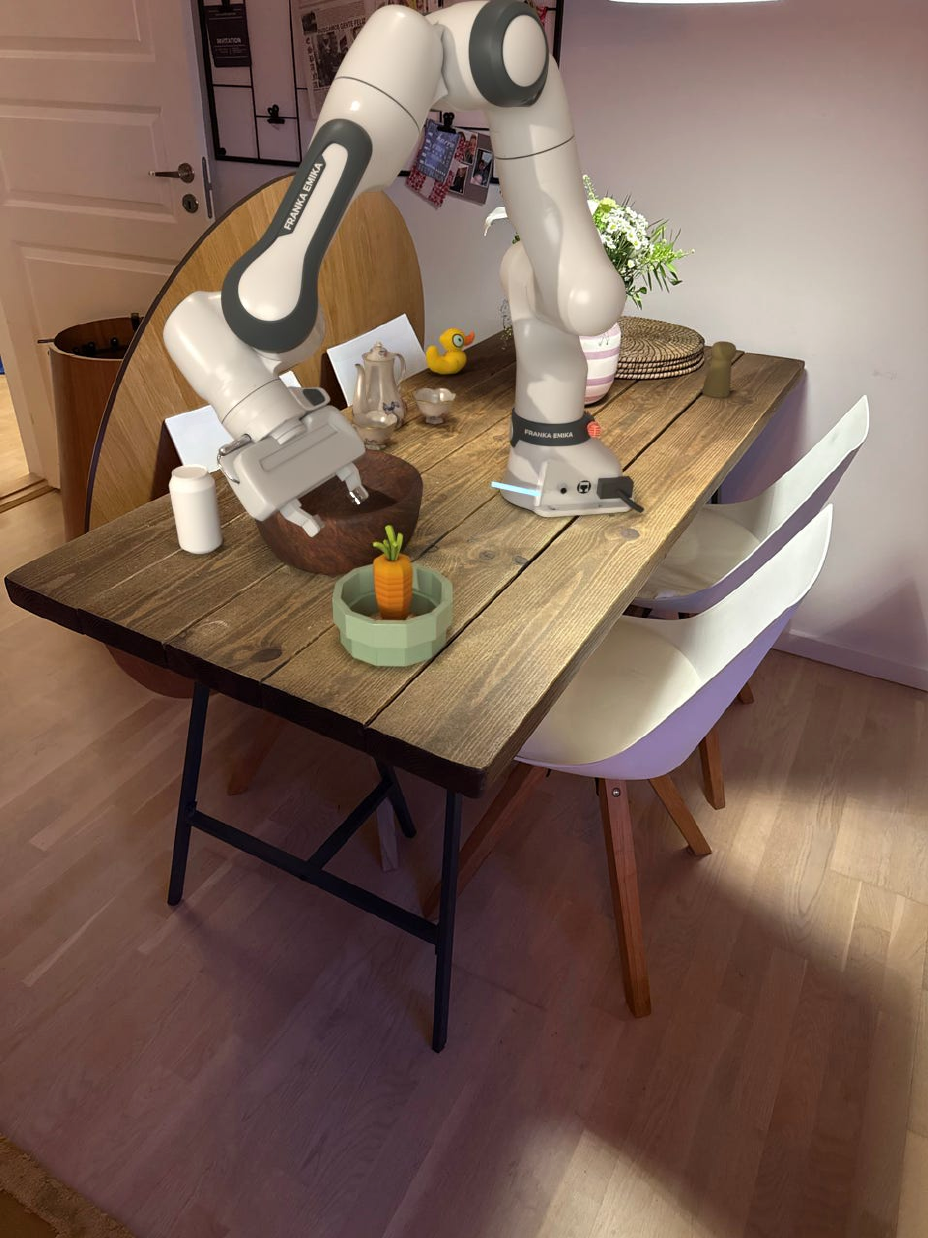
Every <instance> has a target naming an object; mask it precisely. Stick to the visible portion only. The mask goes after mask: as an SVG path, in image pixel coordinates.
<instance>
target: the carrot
mask: <svg viewBox="0 0 928 1238" xmlns="http://www.w3.org/2000/svg"><path fill="white" fill-rule="evenodd" d="M385 529H386V532H387V535H388V538H389V541H390V543H389V541H388V540H384V541H383V543H384V545H385V546H384V545H383V544H382V543H379V542H374V543H373V546H374V547H377V548H379V549H381V550H382V551H383V552H384V554H382V555H381V556H379V557H378V558H376V559H375V560H374V562H373V572H374V585H375V594H376V598H377V603H378V608H379V612H380V613H379V615H380V620H407V619H408V617H409V613H410V612H409V609H410V604H411V598H412V584H413V568H412V564H411V562H412V561H411V557H409V556H408V555H406V554H403V553H402V552H401V553H399V552H400V549H401V546H402V541H403V535H402V534H401V533H398V537H397V541H396V537H395V533H394V530H393V527H392V526H389V525H388V526H386V527H385Z"/></svg>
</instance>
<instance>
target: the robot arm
mask: <svg viewBox="0 0 928 1238" xmlns="http://www.w3.org/2000/svg"><path fill="white" fill-rule="evenodd" d="M480 110H481V111H482V112H483V114H484V116H485V118H486V120H487V122H488V130H489V137H490V142H491V148H492V153H493V159H494V164H495V169H496V172H497V177H498V182H499V187H500V192H501V197H502V201H503V206H504V211H505V214H506V216H507V219H508V221H509V222H510V224H511V225H512V227H513V228H514V230H515V232H516V234H517V236H518V238H519V240H518V241H516V242H514V243H513V244H512V245H511V246H509V248H508V249H507V251H506V252H505V253H504V255H503V258H502V260H501V262H500V266H499V281H500V284H501V287H502V289H503V291H504V294H505V296H506V299H507V303H508V307H509V313H510V319H511V327H512V333H513V334H512V335H513V340H514V347H515V358H516V374H515V375H516V377H515V395H514V406H513V407H512V409H511V415H510V419H509V432H508V433H509V444H510V448H509V453H508V459H507V463H506V468H505V472H504V473H503V474H504V475H503V478H502V481H501V482H496V481H491V487H493V488H497V489H499V493H500V495H501V496H502V497H503V498H504V499H505V500H506V501H508V502H510V503H511V504H513V505H516V506H518V507H521V508H524V509H527V510H530V511H532V513H534V514H537V516H540V517H542V518H557V517H571V516H586V515H598V514H599V515H600V514H615V513H626V512H629V511H631V510H634V511H636V512H637V513H639V514H642V513H643V512H644V511H645V508H644V507H642V505H640V504H638V503H636V502H635V491H634V485H635V481H634V480H633V479H632V477H631V476H630V475H624V474H623V473H624V472H623V468H622V467H623V466H622V464H621V461H620V459H619V457H618V455H617V454H616V453H615V451H613V449H612V448H610V447H609V446H608V445H606V444H605V443H604V442H603V441H602V440H600V438H598V437H599V436H600V435H601V433H602V428H601V426H600V423H598V422H597V421H596V418H595V417H594V416H593V415H592V413H591V412H590V411H589V410H588V409H587V410H585V402H586V395H587V394H586V393H587V384H588V376H589V375H588V373H589V364H588V361H587V357H586V354H585V352H584V349H583V347H582V344H581V339H580V337H591V338H593V337H598V336H601V335H604V334H605V333H607V332H608V331H610V330H611V329H612V328H613V327H614V326H615V325H616V324H617V323H618V321H619V320H620V318H621V316H622V314H623V312H624V309H625V306H626V301H627V290H626V284H625V282H624V279H623V278H622V276H621V275H620V273H619V272H618V271H617V269H616V268H615V266H614V264H613V263H612V261H611V259H610V257H609V256H608V253H607V251H606V248H605V245H604V242H603V240H602V238H601V235H600V233H599V230H598V226H597V225H596V222H595V220H594V217H593V214H592V211H591V208H590V206H589V202H588V199H587V195H586V192H585V187H584V181H583V176H582V171H581V165H580V157H579V153H578V151H579V150H578V145H577V139H576V132H575V126H574V120H573V115H572V110H571V106H570V102H569V99H568V95H567V90H566V87H565V85H564V81H563V78H562V75H561V72H560V69H559V66H558V63H557V62H556V59H555V58H554V56H553V55H552V54H551V53H550V44H549V39H548V36H547V33H546V29H545V26H544V25H543V22H542V20H541V18H540V16H539V15H538V13H537V12H536V11H535V10H534V8H533V7H532V6H531V5H530V4H529V3H526V2H524V1H522V0H470V1H469V0H468V1H462V2H457V3H455V4H453V5H451V6H448V7H445V8H441V9H439V10H436V11H431V12H430V11H428V12H422V13H420V12H419V11H417V10H415V9H413V8H411V7H408V6H405V5H402V4H387V5H384V6H382V7H380V8H378V9H377V10H376V11H374V12H373V13H372V14H371V16H370V17H369V18H368V19H367V21H366V23H365V24H364V25H363V26H362V28H361V30H360V31H359V33H358V34H357V36H356V37H355V39H354V41H353V42H352V44H351V46H350V47H349V49H348V51H347V52H346V54H345V56H344V58H343V60H342V62H341V64H340V65H339V68H338V70H337V72H336V74H335V76H334V79H333V80H332V83H331V85H330V87H329V89H328V92H327V94H326V97H325V99H324V102H323V104H322V107H321V110H320V113H319V115H318V118H317V121H316V124H315V126H314V130H313V134H312V136H311V139H310V142H309V144H308V148H307V151H306V153H305V154H304V157H303V159H302V161H301V162H300V164H299V166H298V168H297V169H296V171H295V174H294V176H293V178H292V180H291V182H290V184H289V186H288V188H287V190H286V192H285V194H284V196H283V198H282V199H281V200H282V201H281V202H280V203H279V206H278V208H277V209H276V212H275V214H274V216H273V218H272V220H271V222H270V223H269V225H268V227H267V228H266V231H265V232H264V233H263V234H262V236H261V237H260V238H259V239H258V241H257V242H256V243H255V244H254V245H253V246H251V247H250V248H249V249H248V250H246V252H244V253H243V254H242V255H241V256H240V257H238V259H237V260H236V261H235V262H234V263H233V264H232V265H231V266H230V268H229V269H228V270H227V273H226V275H225V276H224V279H223V282H222V285H221V290H220V291H204V290H196V291H194V292H191V293H190V294H188V295H187V296H185V297H183V298H182V299H181V300H180V301H179V302H178V303H177V304H176V305H175V306H174V307H173V309H172V310H171V311H170V313H169V315H168V316H167V318H166V321H165V323H164V325H163V330H162V340H163V343H164V346H165V349H166V351H167V352H168V354H169V356H170V358H171V359H172V361H173V363H174V364H175V366H176V368H177V369H178V370H179V372H180V373H181V375H182V376H183V378H185V380H186V381H187V383H188V384H189V385H190V386H191V388H192V389H193V390H194V391H195V393H196V394H197V396H198V397H200V398H201V399H202V400H204V401H205V402H207V404H209V405H210V406H211V408H212V409H213V410H214V412H215V414H216V417H217V419H218V421H219V423H220V424H221V425H222V427H223V428H224V429H225V431H226V432H227V433H228V434H229V436H230V437H231V438H232V439H233V441H231V442H229V443H226V444H224V445H221V447H219V448H218V453H217V455H216V464H217V467H218V469H219V470H220V471H221V472H222V474H223V475H224V476H225V477H226V480H227V482H228V484H229V486H230V487H231V489H232V491H233V492H234V494H235V496H236V498H237V499H238V500H239V502H240V503H241V504H242V507H244V510H246V512H247V514H249V516H250V518H251V517H252V518H253V519H254V518H255V519H257V520H259V521H264V520H266V519H267V518H269V517H271V516H272V515H274V514H275V513H277V512H279V511H280V512H281V514H282V515H283V516H284V517H285V519H287V520H289V521H291V522H293V523H295V524H297V525H299V526H302V527H303V529H304V530H305V531H306V532H307V534H308V535H309V536H310V537H313V536H314V535H316V534H317V533H319V532H320V531H321V530H322V529H324V528H325V524H324V523H323V522H322V521H321V519H320V518H319V516H318V515H317V514H316V515H315V516H311V515H310V514H308V513H307V512H305V511H304V510H302V509H300V507H301V506H302V505H301V503H300V502H299V501H298V499H299V498H301V497H302V496H304V495H305V494H307V493H308V492H310V491H312V490H313V489H315V488H316V487H318V486H320V485H321V484H323V483H324V482H326V481H327V480H329V479H331V478H332V477H334V476H335V475H337V476H338V477H339V478H340V479H341V481H344V480H345V481H346V484H347V486H348V489H349V492H350V493H349V494H348V495H347V497H348V498H349V499H350V500H351V501H352V503H353V504H354V505H355V506H356V505H358V504H360V503H362V502H363V501H364V500H365V499H367V498H368V493H367V492H366V490H365V489H364V488H363V486H362V485H361V480H360V476H359V472H358V469H357V468H356V466H355V465H354V463H355V462H356V461H357V460H359V459H360V458H361V457H362V456H363V455H364V454H365V452H366V451H365V449H366V446H365V445H366V444H364V443H365V442H364V441H363V440H362V438H361V437H360V435H359V434H358V433H357V431H356V429H355V428H354V427H353V426H354V425H352V422H351V421H350V420H348V418H347V417H346V416H345V415H344V414H343V413H342V411H341V410H340V409H338V408H337V407H335V406H334V405H330V404H329V403H330V401H331V397H330V396H329V394H328V392H327V391H326V390H325V389H324V388H322V387H320V386H313V387H312V386H311V387H309V386H308V387H304V386H293V385H289V386H287V385H286V384H285V382H284V380H282V378H281V377H280V376H279V374H282V373H284V372H286V371H288V370H291V369H293V368H294V367H296V366H298V365H300V364H302V363H304V362H305V361H307V360H308V359H310V358H311V357H312V356H314V355H315V354H316V353H317V352H318V351H319V349H320V348H321V347H322V345H323V343H324V340H325V336H326V332H327V320H326V316H325V312H324V309H323V307H322V303H321V301H320V299H319V277H320V271H321V268H322V265H323V263H324V260H325V258H326V256H327V254H328V252H329V250H330V247H332V244H333V242H334V240H335V238H336V235H337V233H338V231H339V230H340V228H341V225H342V223H343V221H344V219H345V217H346V215H347V213H348V211H349V209H350V207H351V206H352V204H353V203H354V202H355V201H356V199H357V198H358V197H359V196H361V195H362V194H372V193H379V192H381V191H384V190H386V189H387V188H389V187H391V185H392V184H393V183H394V181H395V180H396V178H397V177H398V175H400V173H401V171H402V170H403V168H404V166H405V165H406V163H407V162H408V160H409V158H410V156H411V155H412V152H413V151H414V148H415V146H416V144H417V142H418V140H419V137H420V135H421V133H422V130H423V128H424V126H425V123H426V121H427V118H428V116H429V113H439V112H446V113H447V112H448V113H473V112H477V111H480ZM328 404H329V405H328Z"/></svg>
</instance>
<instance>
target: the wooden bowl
mask: <svg viewBox="0 0 928 1238" xmlns="http://www.w3.org/2000/svg"><path fill="white" fill-rule="evenodd" d="M365 451H366V452H365V454H364V455H363V456H362V457H361V458H360V459H359V460H357V461H356V462H355V463H354V465H355V466H356V468H357V469H358V472H359V476H360V480H361V485H362V486H363V488H364V489H365V490H366V492H367V493H368V498H367V499H365V500H364V501H363V502H362V503H360V504H358V505H356V506H355V505H354V504H353V503H352V501H351V500H350V499H349V498H348V497H347V495H348V494H349V493H350V492H349V489H348V486H347V484H346V481H345V480H344V481H341V479H340V478H339V477H338V476H337V475H335V476H334V477H332V478H331V479H329V480H327V481H326V482H324V483H323V484H321V485H320V486H318V487H316V488H315V489H313V490H312V491H310V492H308V493H307V494H305V495H304V496H302V497H301V498H299V499H298V501H299V502H300V503H301V505H302V506H301V507H300V509H302V510H304V511H305V512H307V513H308V514H310V515H311V516H315V515H316V514H317V515H318V516H319V518H320V519H321V521H322V522H323V523H324V524H325V528H324V529H322V530H321V531H320V532H319V533H317V534H316V535H314V536H313V537H310V536H309V535H308V534H307V532H306V531H305V530H304V529H303V527H302V526H299V525H297V524H295V523H293V522H291V521H289V520H287V519H285V517H284V516H283V515H282V514H281V512H280V511H279V512H277V513H275V514H274V515H272V516H271V517H269V518H267V519H266V520H264V521H259V520H257V519H255V518H253V519H254V523H255V526H256V528H257V530H258V533H259V534H260V536H261V539H262V540H263V542H264V544H265V545H266V546H267V547H268V549H269V550H270V551H271V552H272V554H274V556H275V557H276V558H278V559H279V560H280V561H281V562H283V563H284V564H286V565H288V566H291V567H293V568H294V569H296V570H300V571H303V572H306V573H307V572H308V573H312V574H313V573H314V574H317V575H333V576H334V575H335V576H337V575H338V576H339V575H346V574H348V573H349V572H350V571H352V570H353V569H355V568H359V567H363V566H366V565H370V564H373V562H374V560H375V559H376V558H378V557H379V556H381V555H382V554H384V552H383V551H382V550H381V549H379V548H377V547H374V546H373V543H374V542H379V543H382V544H383V545H384V543H383V541H384V540H388V541H389V538H388V535H387V532H386V529H385V527H386V526H388V525H389V526H392V527H393V530H394V533H395V537H396V541H397V537H398V533H401V534H402V535H403V541H402V546H401V549H400V552H399V553H401V554H402V552H403V551H404V550H405V549H406V547H407V546H408V544H410V541H411V539H412V537H413V536H414V533H415V531H416V528H417V526H418V521H419V519H420V513H421V507H422V501H423V494H424V481H423V477H422V475H421V473H420V471H419V470H418V469H417V468H416V467H415V466H414V465H413V464H411V463H410V462H409V461H407V460H405V459H403V458H401V457H400V456H396V455H393V454H391V453H388V452H384V451H381V450H372V449H368V448H365ZM389 543H390V541H389ZM384 546H385V545H384Z"/></svg>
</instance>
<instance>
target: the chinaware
mask: <svg viewBox="0 0 928 1238" xmlns="http://www.w3.org/2000/svg"><path fill="white" fill-rule="evenodd" d="M373 346H374V347H371V348H370V350H369V351H368V352H364V353H362V354H361V356H360V357H361V358H362V361H363V365H362V364H361V363H355V364H354V367H355V368H356V370H357V376H356V382H355V388H354V393H353V397H352V408H351V415H352V419H351V421H350V423H351V425H352V426H353V427H354V429H355V430H356V431H357V433H358V434H359V435H360V437H361V438H362V440H363V442H364V445H365V448H366V449H371V450H376V451H381V450H382V449H384V448H386V445H385V443H387V442H388V441H389V440H390V439H391V437H392V436H393V434H394V432H395V431H397V430H399V429H401V428H402V427H403V423H402V422H403V420H404V419H405V417H406V415H407V414H408V412H409V406H408V404H407V403H406V401H405V400H404V398H403V397H402V395H401V393H402V390H403V388H402V386H401V385H400V384H401V383H402V382H403V380H404V378H405V375H406V360H405V358H404V356H403V355H402V354H401V353H399V352H398V353H397V352H391V351H388V349H386V348H385V347H384V346H383V344H382V343H381V341H380V340H377V341H376V342H375V344H374V345H373ZM396 358H398V359H399V361H400V374H399V377H398V379H397V381H396V380H395V374H394V373H395V369H394V366H395V362H396V361H395V359H396ZM411 397H412V398H413V399H414V400H415V404H416V407H417V409H418V411H419V413H420V414H421V415H422V416H423V417H425V423H428V424H433V425H438V424H441V423H443V418H445V417H446V416H447V415H448V414H449V413H450V411H451V409H452V406H453V403H454V401H455V400H456V399H457V398H458V394H457V393H453V392H452V391H450V390H449V389H448V388H446V387H439V388H436V389H432V388H430V387H422V388H420V389H418V390H417V392H413V393H412V394H411Z"/></svg>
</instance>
